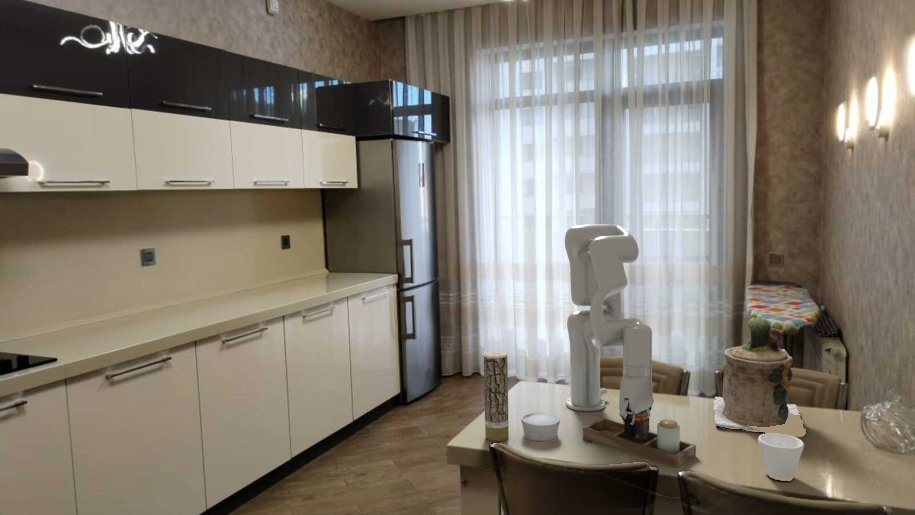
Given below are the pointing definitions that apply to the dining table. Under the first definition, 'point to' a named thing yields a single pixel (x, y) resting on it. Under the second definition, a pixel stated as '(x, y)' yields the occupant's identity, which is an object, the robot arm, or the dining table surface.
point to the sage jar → (668, 436)
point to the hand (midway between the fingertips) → (636, 433)
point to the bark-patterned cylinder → (496, 395)
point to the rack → (615, 438)
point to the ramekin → (540, 426)
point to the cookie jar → (756, 381)
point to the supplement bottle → (640, 427)
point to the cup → (780, 453)
